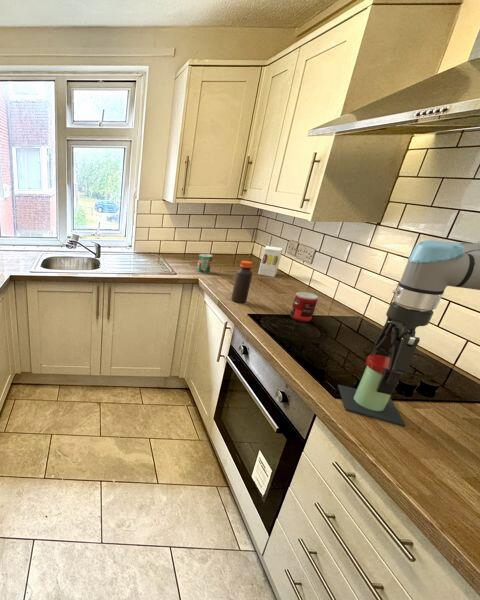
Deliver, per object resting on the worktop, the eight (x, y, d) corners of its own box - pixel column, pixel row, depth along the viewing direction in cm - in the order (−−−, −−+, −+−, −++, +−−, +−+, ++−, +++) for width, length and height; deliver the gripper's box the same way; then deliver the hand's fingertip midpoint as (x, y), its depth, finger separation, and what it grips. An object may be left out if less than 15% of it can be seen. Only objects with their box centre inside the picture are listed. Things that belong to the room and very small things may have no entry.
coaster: (389, 399, 90) (390, 397, 89) (404, 426, 80) (405, 424, 80) (337, 386, 95) (338, 384, 95) (345, 410, 85) (346, 408, 85)
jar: (380, 399, 88) (398, 362, 84) (388, 414, 83) (407, 375, 78) (351, 392, 91) (366, 355, 87) (356, 405, 86) (372, 367, 81)
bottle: (231, 302, 156) (239, 262, 148) (231, 297, 161) (239, 259, 154) (246, 304, 153) (255, 264, 145) (246, 299, 159) (254, 261, 151)
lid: (374, 373, 80) (377, 368, 80) (359, 358, 87) (361, 352, 87) (411, 379, 79) (414, 373, 78) (393, 362, 85) (395, 357, 85)
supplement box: (257, 274, 197) (263, 248, 191) (259, 271, 204) (265, 245, 198) (274, 277, 192) (281, 250, 186) (276, 273, 199) (283, 247, 193)
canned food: (293, 312, 144) (299, 290, 140) (313, 318, 138) (321, 295, 134) (286, 317, 140) (293, 294, 135) (307, 323, 134) (315, 299, 130)
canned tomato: (212, 273, 199) (215, 256, 195) (200, 273, 198) (203, 256, 194) (205, 269, 206) (208, 253, 202) (194, 270, 205) (197, 253, 201)
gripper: (379, 289, 87) (352, 358, 95) (407, 319, 69) (370, 401, 77) (416, 294, 83) (384, 365, 92) (455, 327, 65) (411, 412, 74)
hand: (378, 382), depth 85 cm, fingers open, 9 cm apart
